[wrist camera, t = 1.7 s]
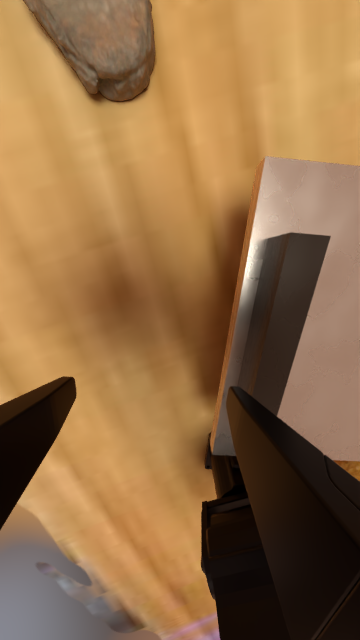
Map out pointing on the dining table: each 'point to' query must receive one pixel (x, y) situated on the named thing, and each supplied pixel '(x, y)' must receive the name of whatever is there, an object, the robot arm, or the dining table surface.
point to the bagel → (350, 467)
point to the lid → (299, 306)
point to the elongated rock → (103, 42)
